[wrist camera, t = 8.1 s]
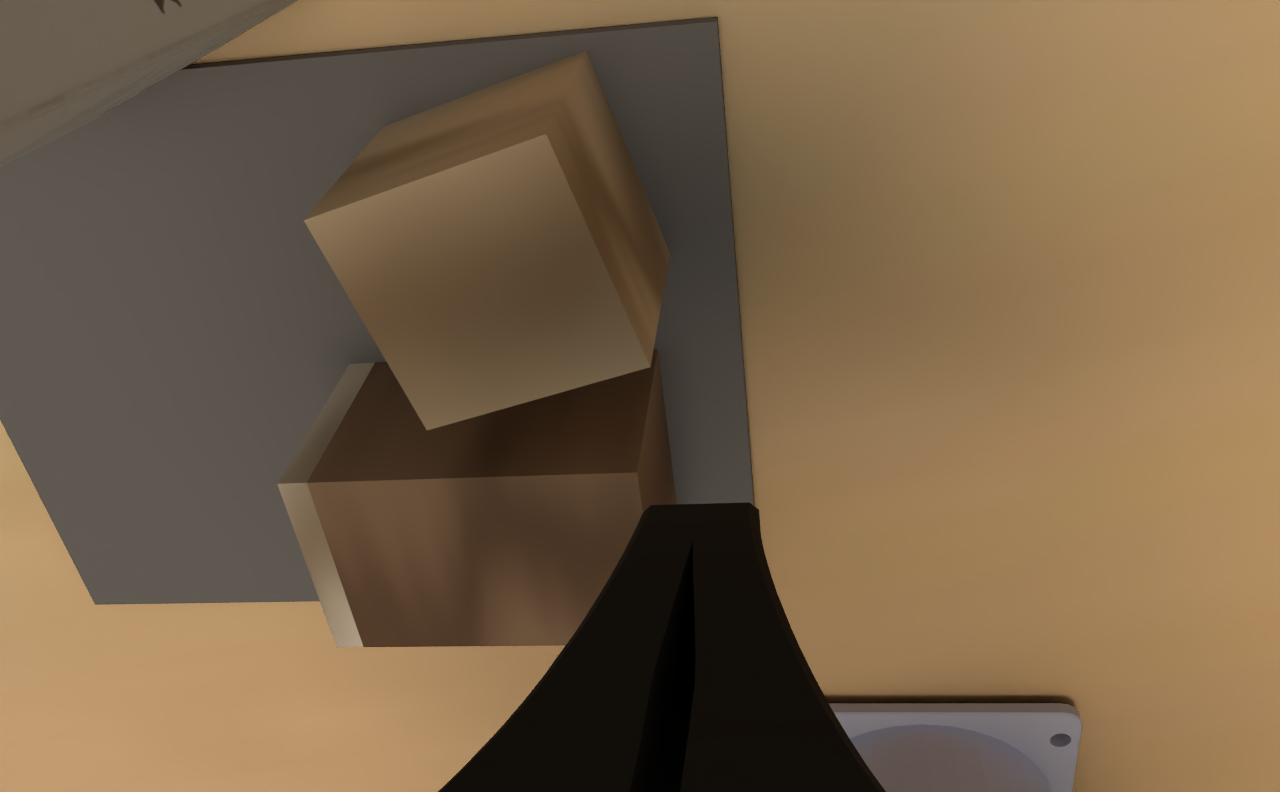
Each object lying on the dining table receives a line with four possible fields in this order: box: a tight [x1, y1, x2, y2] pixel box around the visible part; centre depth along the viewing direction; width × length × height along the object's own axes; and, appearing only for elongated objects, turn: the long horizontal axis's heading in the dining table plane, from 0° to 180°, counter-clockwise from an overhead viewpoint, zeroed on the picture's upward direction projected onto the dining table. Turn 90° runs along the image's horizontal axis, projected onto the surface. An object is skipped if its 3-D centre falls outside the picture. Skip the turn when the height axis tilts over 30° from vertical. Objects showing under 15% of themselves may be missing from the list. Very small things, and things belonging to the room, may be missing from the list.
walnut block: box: [277, 349, 677, 647], centre depth 24 cm, size 4×4×7 cm
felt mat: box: [0, 17, 754, 605], centre depth 25 cm, size 14×18×1 cm
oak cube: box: [304, 50, 670, 430], centre depth 21 cm, size 4×4×4 cm
